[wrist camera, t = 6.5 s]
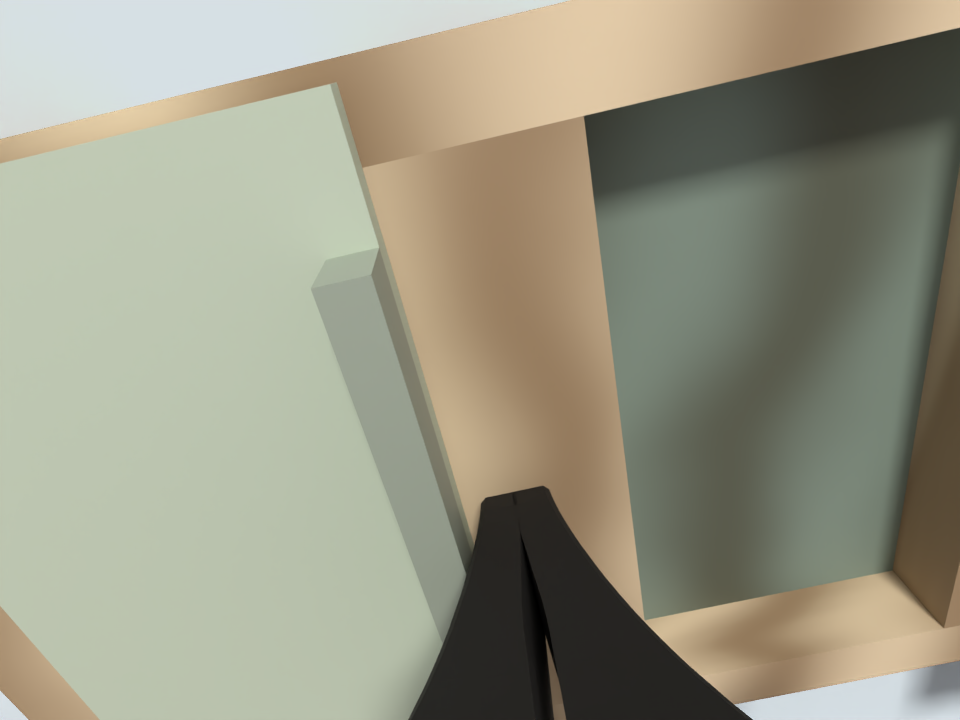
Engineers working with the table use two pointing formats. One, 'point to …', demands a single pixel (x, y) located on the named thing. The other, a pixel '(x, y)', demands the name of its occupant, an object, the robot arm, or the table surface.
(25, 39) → the table surface
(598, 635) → the robot arm
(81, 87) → the table surface
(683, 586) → the wooden frame
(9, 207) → the lid
